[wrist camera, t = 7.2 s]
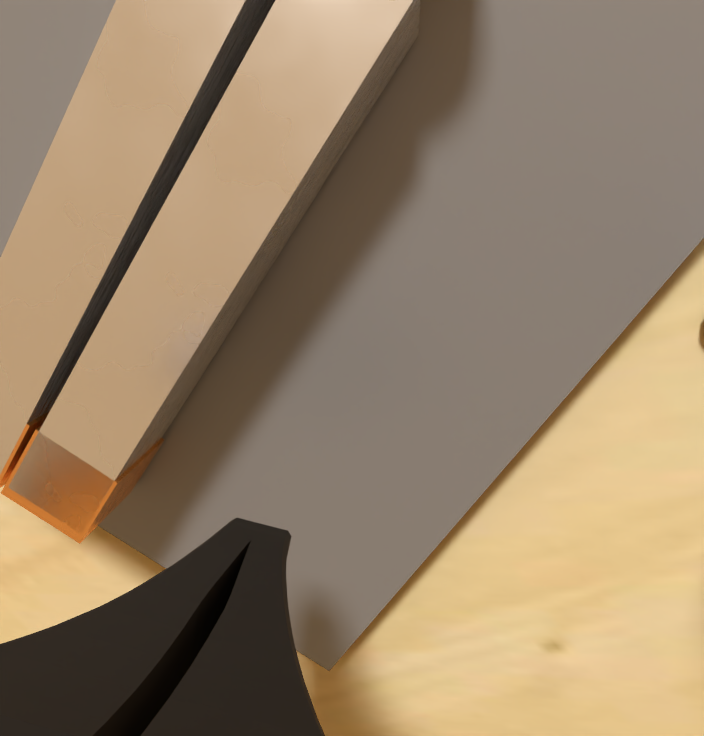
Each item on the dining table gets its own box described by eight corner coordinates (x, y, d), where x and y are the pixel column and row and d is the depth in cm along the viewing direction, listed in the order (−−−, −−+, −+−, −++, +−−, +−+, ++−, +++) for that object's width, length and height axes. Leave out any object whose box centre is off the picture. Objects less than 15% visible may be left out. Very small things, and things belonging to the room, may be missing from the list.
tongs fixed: (345, -299, 13) (318, -523, 9) (519, -163, 13) (566, -321, 9) (1, 399, 18) (-105, 448, 15) (128, 480, 19) (56, 548, 15)
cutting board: (827, 65, 14) (863, 52, 13) (333, 646, 21) (329, 671, 20) (189, -436, 13) (168, -499, 12) (-125, 356, 20) (-158, 365, 19)
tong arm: (338, -27, 14) (319, -91, 11) (421, 36, 14) (425, -9, 11) (65, 449, 18) (0, 493, 15) (131, 492, 18) (79, 543, 16)
